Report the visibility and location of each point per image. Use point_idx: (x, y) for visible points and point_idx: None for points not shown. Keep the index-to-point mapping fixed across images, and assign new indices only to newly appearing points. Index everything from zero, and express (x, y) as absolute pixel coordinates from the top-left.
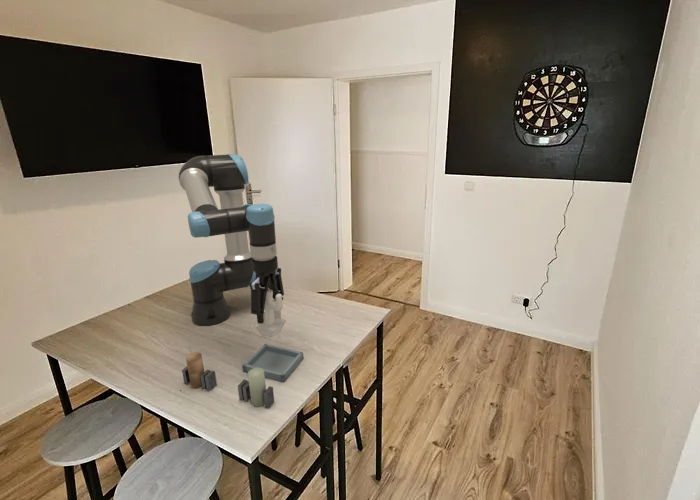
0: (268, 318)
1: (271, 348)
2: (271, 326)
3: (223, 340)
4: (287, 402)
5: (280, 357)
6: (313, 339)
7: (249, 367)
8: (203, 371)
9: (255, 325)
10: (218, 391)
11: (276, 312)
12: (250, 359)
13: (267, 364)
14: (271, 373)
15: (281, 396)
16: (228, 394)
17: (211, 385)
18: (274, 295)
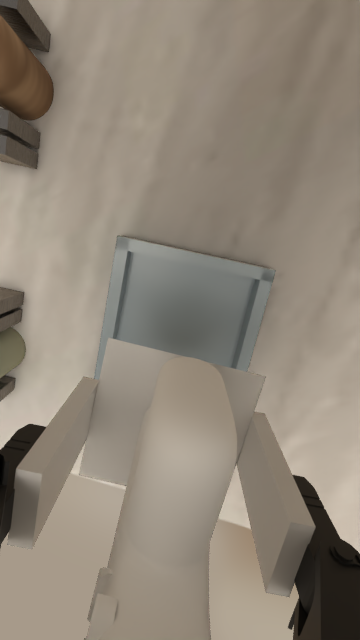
0: (132, 461)
1: (252, 304)
2: (126, 447)
3: (329, 30)
4: (20, 424)
5: (216, 345)
6: (347, 423)
7: (112, 269)
8: (2, 96)
9: (120, 342)
10: (8, 193)
11: (251, 472)
12: (159, 252)
13: (169, 313)
14: (97, 359)
15: (38, 402)
16: (4, 236)
17: (2, 159)
18: (306, 629)
